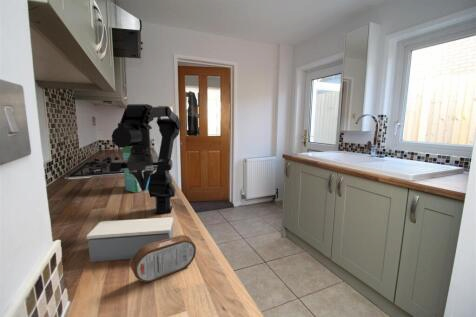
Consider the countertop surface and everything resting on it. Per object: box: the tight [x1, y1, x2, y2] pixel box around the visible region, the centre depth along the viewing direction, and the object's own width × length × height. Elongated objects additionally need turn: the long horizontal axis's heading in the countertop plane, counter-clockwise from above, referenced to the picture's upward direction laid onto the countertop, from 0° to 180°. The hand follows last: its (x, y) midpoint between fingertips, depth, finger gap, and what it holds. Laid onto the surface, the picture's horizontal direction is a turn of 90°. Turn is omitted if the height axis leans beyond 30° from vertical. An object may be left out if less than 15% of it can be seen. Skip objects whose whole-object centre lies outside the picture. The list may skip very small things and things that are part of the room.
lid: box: [86, 216, 174, 240], centre depth 65 cm, size 9×20×1 cm, turn 100°
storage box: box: [87, 222, 174, 263], centre depth 65 cm, size 9×20×6 cm, turn 100°
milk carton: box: [121, 146, 150, 194], centre depth 119 cm, size 9×9×25 cm
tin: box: [130, 234, 197, 283], centre depth 55 cm, size 15×3×8 cm, turn 126°
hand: (143, 190), depth 77 cm, fingers closed
